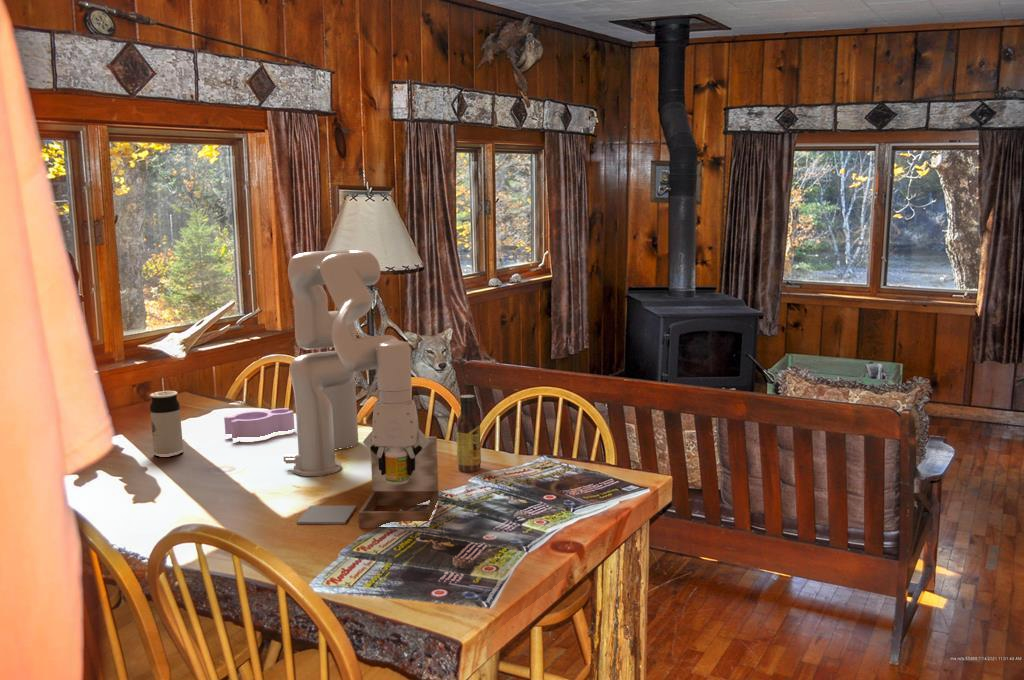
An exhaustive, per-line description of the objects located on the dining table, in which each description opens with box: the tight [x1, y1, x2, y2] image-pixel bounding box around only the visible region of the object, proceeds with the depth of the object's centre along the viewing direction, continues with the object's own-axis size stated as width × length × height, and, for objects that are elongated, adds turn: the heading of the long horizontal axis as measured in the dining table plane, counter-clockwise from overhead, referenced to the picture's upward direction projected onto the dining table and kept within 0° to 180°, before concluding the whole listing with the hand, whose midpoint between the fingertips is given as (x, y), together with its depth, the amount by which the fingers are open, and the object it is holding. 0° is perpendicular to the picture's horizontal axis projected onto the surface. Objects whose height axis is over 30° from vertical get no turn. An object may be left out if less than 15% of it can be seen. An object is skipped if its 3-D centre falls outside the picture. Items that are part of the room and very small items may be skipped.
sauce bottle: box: [456, 394, 482, 473], centre depth 249 cm, size 6×6×20 cm
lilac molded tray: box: [223, 407, 295, 438], centre depth 290 cm, size 20×12×7 cm, turn 124°
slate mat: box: [296, 505, 357, 525], centre depth 216 cm, size 11×11×1 cm
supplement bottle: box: [385, 447, 409, 484], centre depth 214 cm, size 5×5×10 cm
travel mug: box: [149, 390, 184, 454], centre depth 270 cm, size 8×8×18 cm
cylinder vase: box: [322, 377, 359, 449], centre depth 276 cm, size 12×12×25 cm
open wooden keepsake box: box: [358, 436, 440, 529], centre depth 214 cm, size 16×16×16 cm
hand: (397, 472), depth 214 cm, fingers closed on supplement bottle, 5 cm apart
